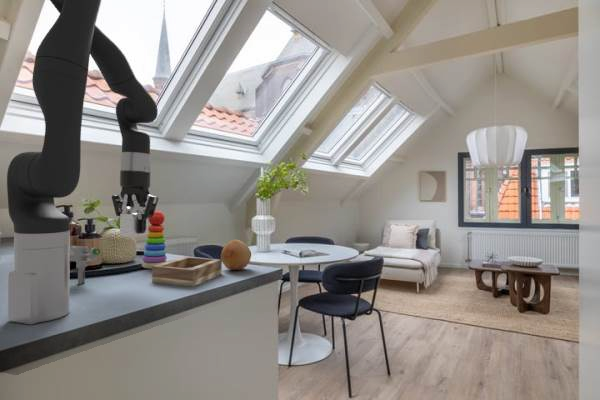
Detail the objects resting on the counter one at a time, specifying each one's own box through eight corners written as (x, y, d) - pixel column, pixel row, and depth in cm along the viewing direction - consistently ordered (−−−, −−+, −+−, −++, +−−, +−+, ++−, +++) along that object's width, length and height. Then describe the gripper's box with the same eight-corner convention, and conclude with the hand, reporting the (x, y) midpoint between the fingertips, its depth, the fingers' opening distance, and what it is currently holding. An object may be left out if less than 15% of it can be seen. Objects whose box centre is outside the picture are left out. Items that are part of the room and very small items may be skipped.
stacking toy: (161, 269, 117) (162, 212, 117) (137, 269, 118) (138, 211, 117) (170, 264, 125) (171, 210, 125) (147, 264, 125) (148, 210, 125)
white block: (132, 237, 96) (132, 214, 96) (119, 236, 97) (120, 213, 97) (147, 234, 102) (148, 213, 102) (135, 234, 103) (136, 213, 103)
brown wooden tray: (192, 286, 98) (192, 270, 98) (152, 282, 102) (152, 266, 102) (221, 273, 113) (221, 259, 113) (185, 270, 117) (185, 256, 117)
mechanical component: (93, 286, 96) (93, 248, 96) (60, 283, 98) (60, 246, 98) (101, 283, 99) (101, 247, 99) (69, 280, 101) (69, 245, 101)
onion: (251, 273, 116) (251, 241, 115) (219, 273, 114) (220, 241, 114) (250, 266, 125) (251, 237, 125) (221, 266, 124) (221, 237, 123)
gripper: (103, 168, 97) (102, 232, 98) (148, 169, 93) (146, 235, 94) (124, 171, 105) (123, 230, 105) (166, 171, 101) (165, 233, 101)
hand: (134, 232), depth 99 cm, fingers closed on white block, 4 cm apart
